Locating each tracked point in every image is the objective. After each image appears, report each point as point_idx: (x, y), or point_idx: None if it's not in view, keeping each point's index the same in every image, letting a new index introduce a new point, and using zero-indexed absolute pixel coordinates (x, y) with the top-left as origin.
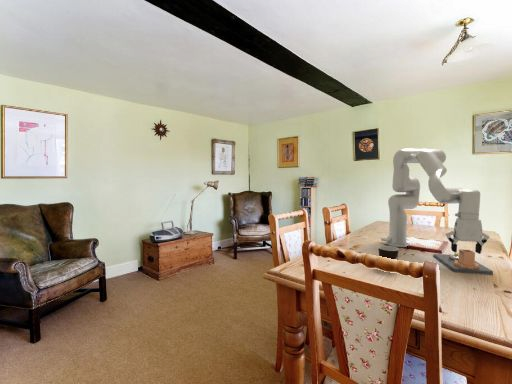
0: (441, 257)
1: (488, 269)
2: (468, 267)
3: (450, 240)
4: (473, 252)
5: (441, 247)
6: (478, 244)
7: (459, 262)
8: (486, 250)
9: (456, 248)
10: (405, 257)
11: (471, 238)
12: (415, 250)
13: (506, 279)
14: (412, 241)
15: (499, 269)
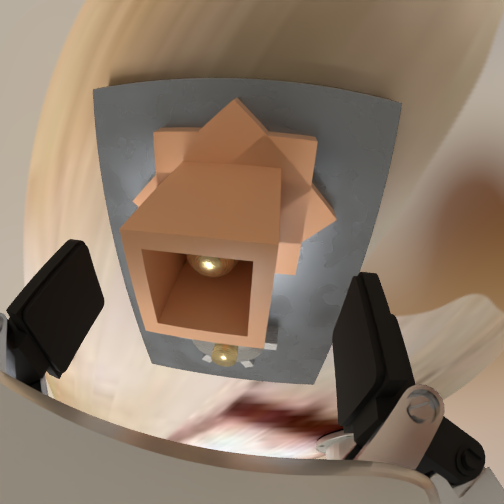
0: (311, 344)
1: (105, 123)
2: (257, 121)
3: (465, 438)
4: (138, 229)
5: (204, 426)
6: (31, 345)
7: (280, 227)
8: (76, 386)
9: (374, 314)
10: (461, 342)
11: (52, 489)
12: (335, 413)
13: (80, 16)
14: (274, 453)
15: (49, 204)
